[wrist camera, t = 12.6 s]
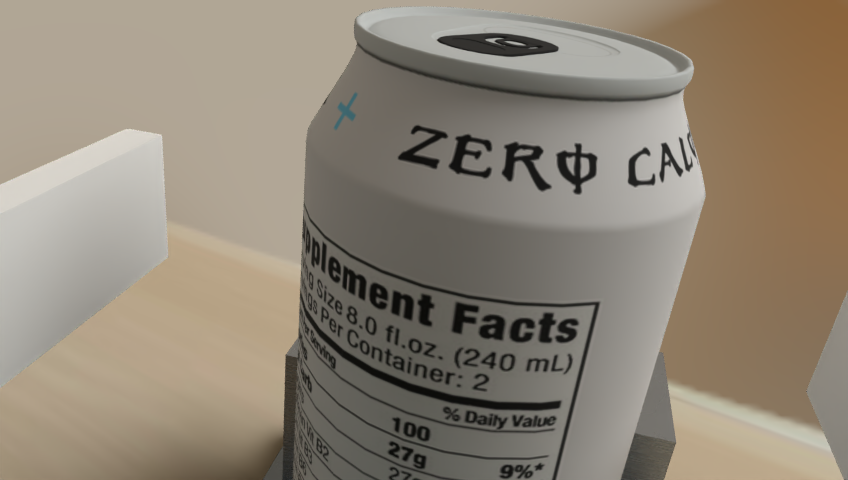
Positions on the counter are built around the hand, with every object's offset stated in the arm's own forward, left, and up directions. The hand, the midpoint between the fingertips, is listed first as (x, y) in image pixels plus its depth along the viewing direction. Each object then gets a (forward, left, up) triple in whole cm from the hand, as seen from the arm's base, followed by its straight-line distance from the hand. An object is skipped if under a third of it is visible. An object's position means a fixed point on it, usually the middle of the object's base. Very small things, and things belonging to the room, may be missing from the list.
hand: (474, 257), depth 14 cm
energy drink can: (0, +2, -11) cm, 11 cm away
